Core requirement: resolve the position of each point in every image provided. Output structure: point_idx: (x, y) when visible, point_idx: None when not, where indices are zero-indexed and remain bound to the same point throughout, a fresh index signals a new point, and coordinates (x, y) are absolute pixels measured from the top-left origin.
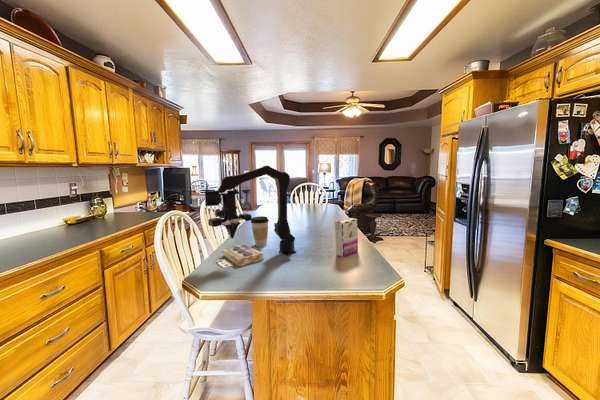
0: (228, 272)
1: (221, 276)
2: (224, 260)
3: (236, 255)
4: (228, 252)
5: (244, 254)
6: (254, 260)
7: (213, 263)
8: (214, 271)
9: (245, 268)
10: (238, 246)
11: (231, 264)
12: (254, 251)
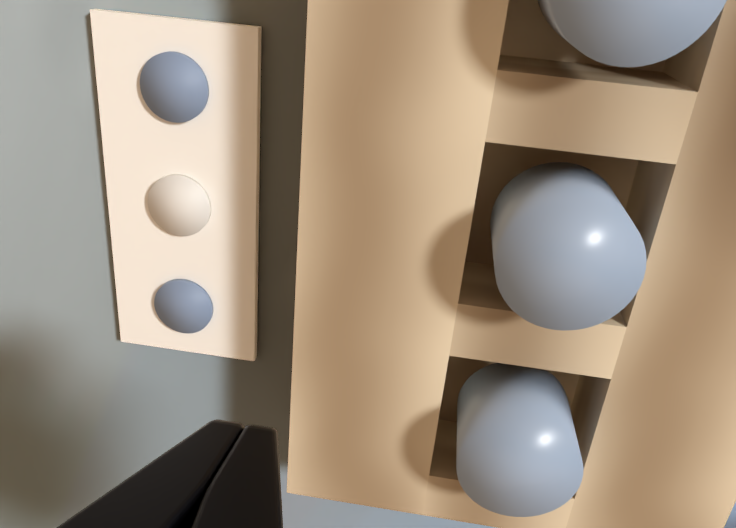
0: (130, 471)
1: (40, 494)
2: (234, 100)
3: (351, 331)
4: (327, 56)
5: (460, 416)
6: None
7: (59, 53)
8: (6, 338)
9: (324, 520)
10: (628, 50)
11: (244, 332)
12: (702, 406)
